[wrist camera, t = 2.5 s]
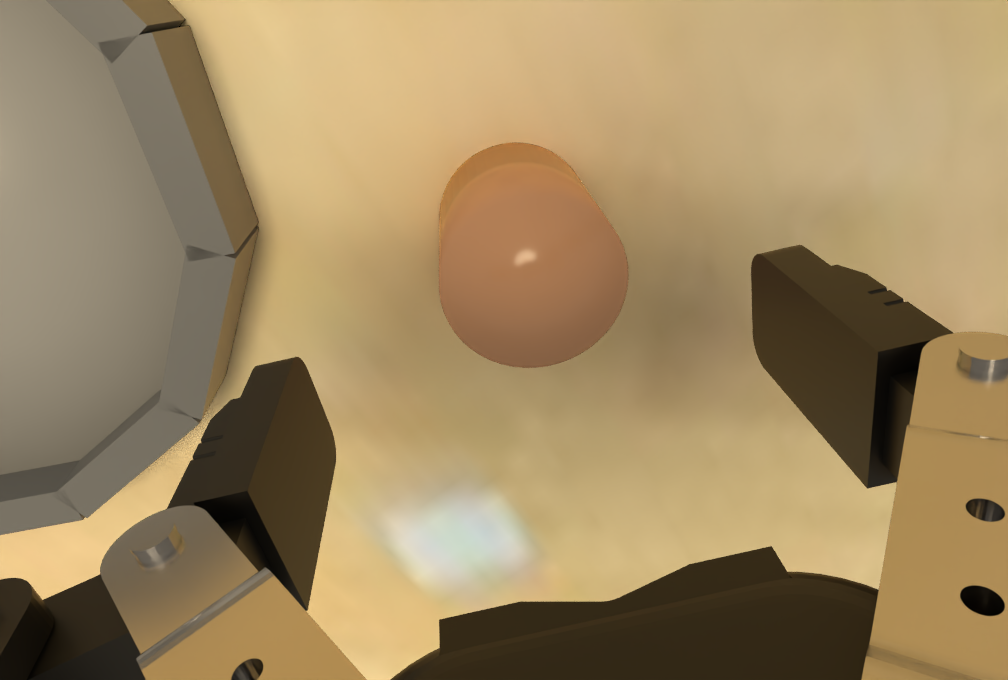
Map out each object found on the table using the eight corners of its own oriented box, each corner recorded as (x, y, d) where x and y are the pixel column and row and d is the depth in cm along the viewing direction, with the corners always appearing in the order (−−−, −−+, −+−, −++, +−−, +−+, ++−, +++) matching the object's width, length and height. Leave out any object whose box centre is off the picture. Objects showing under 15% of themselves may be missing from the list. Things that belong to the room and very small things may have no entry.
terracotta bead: (616, 225, 20) (663, 293, 16) (503, 312, 22) (519, 398, 17) (526, 109, 19) (552, 149, 14) (408, 210, 20) (398, 278, 15)
